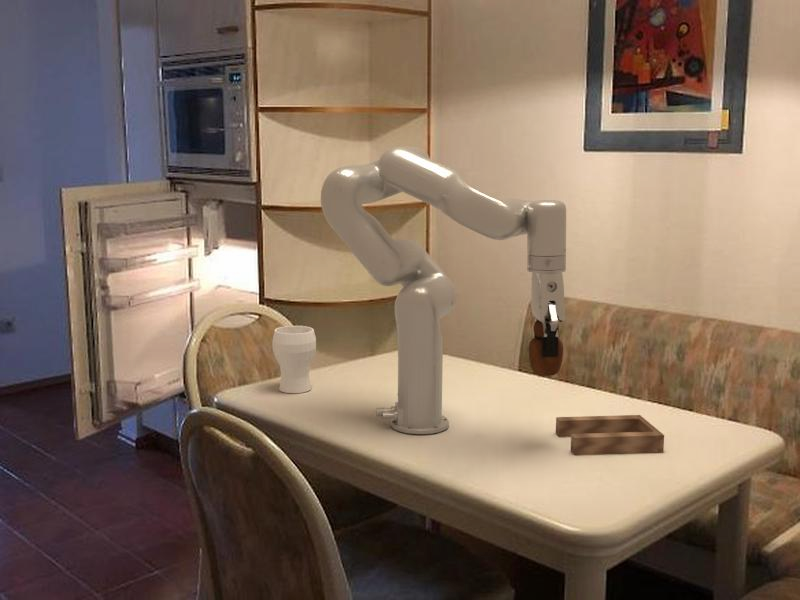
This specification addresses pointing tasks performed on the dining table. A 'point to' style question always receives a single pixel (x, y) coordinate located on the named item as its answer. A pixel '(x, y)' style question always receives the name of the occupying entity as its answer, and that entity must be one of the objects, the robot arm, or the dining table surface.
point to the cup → (294, 356)
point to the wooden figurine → (537, 361)
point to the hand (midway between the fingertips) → (546, 351)
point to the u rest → (610, 434)
